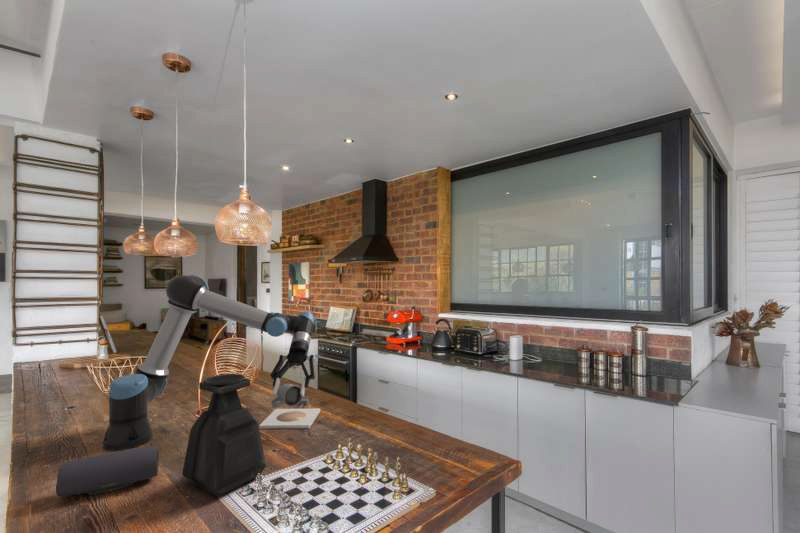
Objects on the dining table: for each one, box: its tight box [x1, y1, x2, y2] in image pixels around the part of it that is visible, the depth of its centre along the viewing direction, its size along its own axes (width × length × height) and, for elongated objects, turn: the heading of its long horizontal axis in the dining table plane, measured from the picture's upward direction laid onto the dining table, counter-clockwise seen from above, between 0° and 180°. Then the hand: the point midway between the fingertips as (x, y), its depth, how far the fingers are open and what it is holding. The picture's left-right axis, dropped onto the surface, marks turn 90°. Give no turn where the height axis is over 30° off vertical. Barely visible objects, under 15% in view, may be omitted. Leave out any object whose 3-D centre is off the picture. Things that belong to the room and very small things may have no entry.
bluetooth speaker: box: [55, 445, 160, 497], centre depth 112 cm, size 23×9×10 cm, turn 118°
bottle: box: [182, 373, 267, 497], centre depth 116 cm, size 18×16×30 cm
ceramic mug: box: [270, 383, 303, 409], centre depth 149 cm, size 11×8×8 cm
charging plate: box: [258, 398, 321, 430], centre depth 171 cm, size 32×20×2 cm, turn 179°
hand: (288, 395), depth 147 cm, fingers closed on ceramic mug, 10 cm apart
